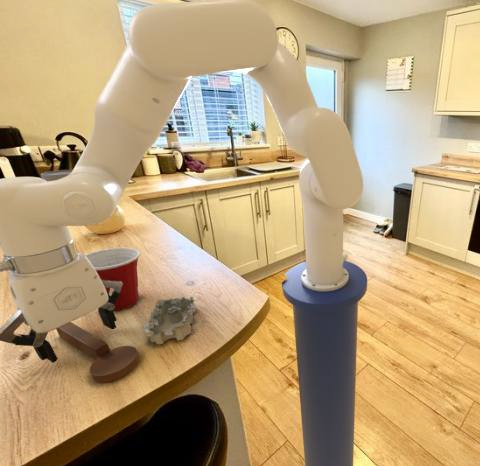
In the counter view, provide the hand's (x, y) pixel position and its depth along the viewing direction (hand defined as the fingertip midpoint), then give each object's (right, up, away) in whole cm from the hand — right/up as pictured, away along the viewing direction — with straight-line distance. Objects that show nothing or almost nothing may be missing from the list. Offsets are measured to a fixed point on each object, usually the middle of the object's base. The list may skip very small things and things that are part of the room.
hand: (82, 341), depth 52 cm
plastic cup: (-2, +4, +13) cm, 14 cm away
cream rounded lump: (-38, +20, +51) cm, 67 cm away
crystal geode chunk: (+13, +1, +6) cm, 14 cm away
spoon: (+3, -2, -1) cm, 3 cm away
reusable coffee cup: (-76, +32, +76) cm, 112 cm away
